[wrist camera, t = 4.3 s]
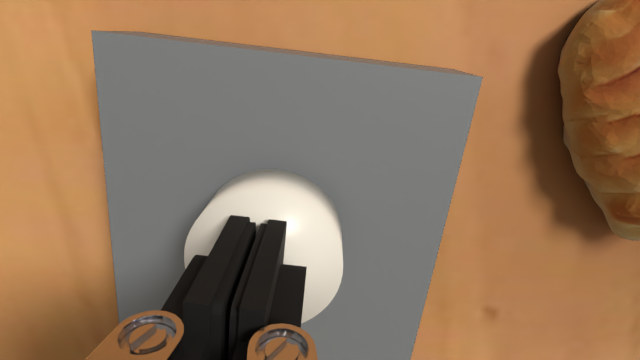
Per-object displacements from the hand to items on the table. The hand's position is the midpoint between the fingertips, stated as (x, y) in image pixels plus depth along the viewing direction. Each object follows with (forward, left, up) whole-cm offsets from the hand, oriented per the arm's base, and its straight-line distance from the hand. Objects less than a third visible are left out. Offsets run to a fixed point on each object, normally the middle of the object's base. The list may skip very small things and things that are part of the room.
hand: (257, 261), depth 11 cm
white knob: (0, 0, -5) cm, 5 cm away
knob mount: (-8, +6, -5) cm, 11 cm away
